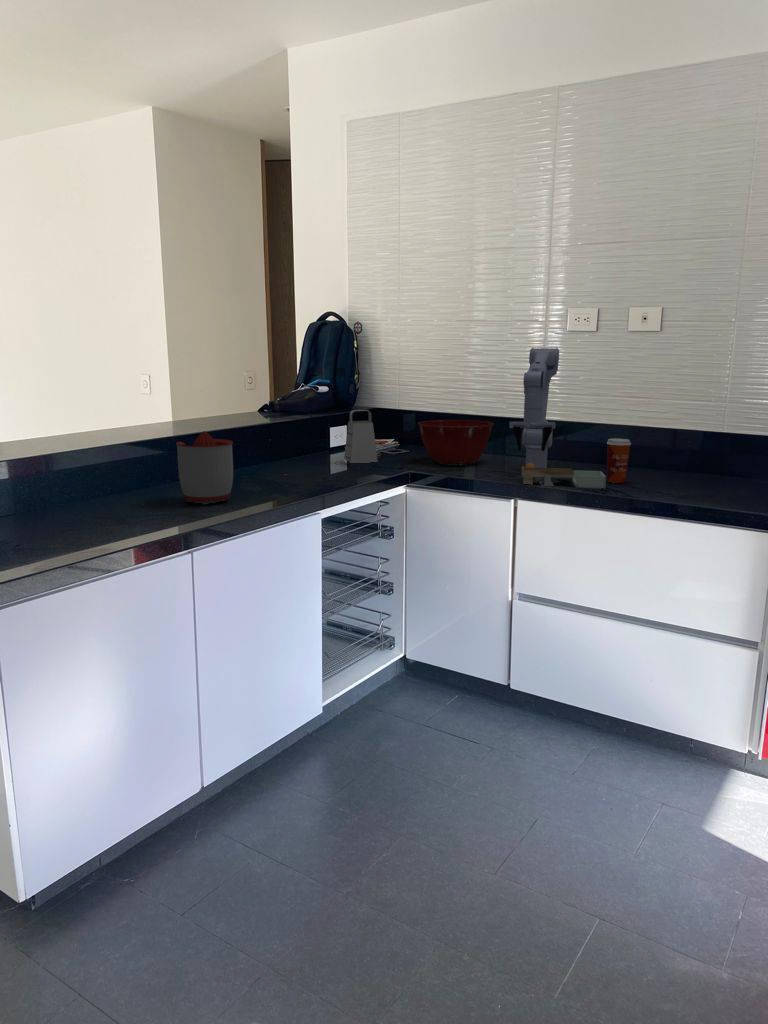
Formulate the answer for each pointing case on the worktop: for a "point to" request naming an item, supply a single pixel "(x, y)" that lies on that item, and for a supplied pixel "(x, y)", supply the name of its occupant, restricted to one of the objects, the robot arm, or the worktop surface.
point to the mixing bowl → (455, 440)
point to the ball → (529, 466)
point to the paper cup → (617, 459)
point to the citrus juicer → (205, 468)
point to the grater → (360, 441)
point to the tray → (589, 479)
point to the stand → (546, 480)
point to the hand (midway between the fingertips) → (531, 450)
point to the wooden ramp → (541, 472)
